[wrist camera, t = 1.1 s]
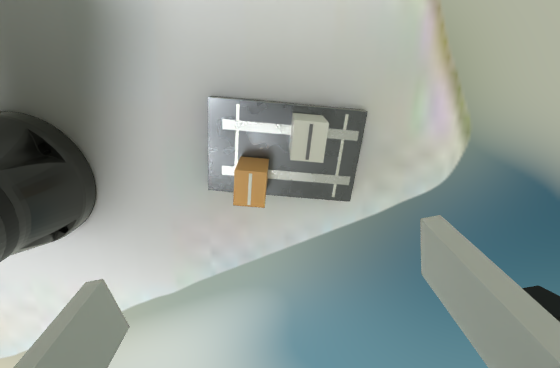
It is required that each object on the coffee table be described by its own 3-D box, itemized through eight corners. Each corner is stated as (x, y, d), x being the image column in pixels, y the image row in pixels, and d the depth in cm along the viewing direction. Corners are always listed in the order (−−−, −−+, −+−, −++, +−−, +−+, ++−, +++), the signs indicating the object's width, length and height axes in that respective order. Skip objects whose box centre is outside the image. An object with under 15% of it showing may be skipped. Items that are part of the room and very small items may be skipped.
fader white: (289, 147, 30) (290, 160, 26) (292, 112, 29) (294, 120, 25) (317, 150, 30) (323, 163, 26) (322, 115, 29) (329, 123, 25)
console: (211, 184, 34) (208, 190, 32) (211, 95, 30) (207, 97, 29) (347, 196, 34) (350, 201, 33) (363, 109, 31) (367, 112, 29)
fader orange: (239, 187, 32) (233, 205, 28) (240, 156, 31) (234, 170, 26) (266, 189, 32) (264, 208, 28) (269, 158, 31) (267, 173, 27)
